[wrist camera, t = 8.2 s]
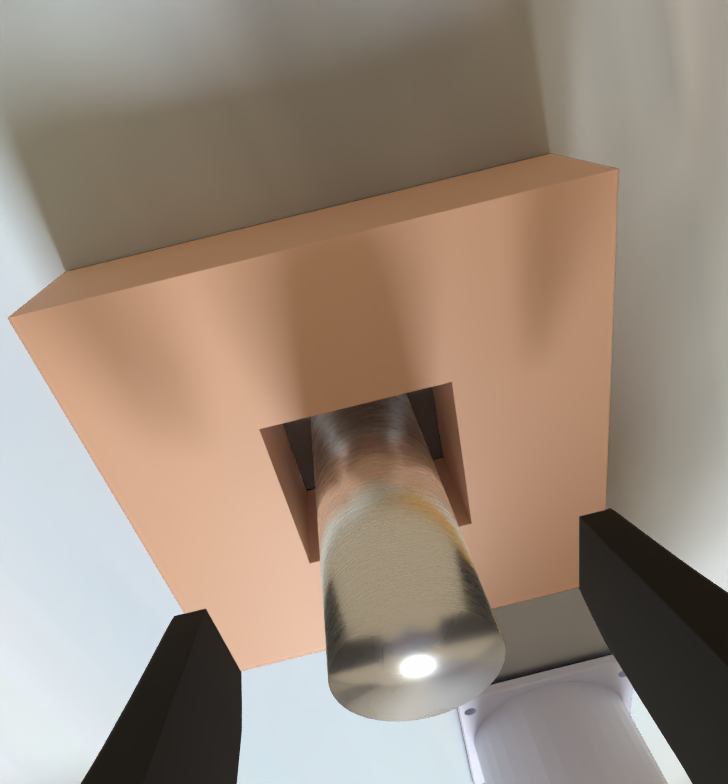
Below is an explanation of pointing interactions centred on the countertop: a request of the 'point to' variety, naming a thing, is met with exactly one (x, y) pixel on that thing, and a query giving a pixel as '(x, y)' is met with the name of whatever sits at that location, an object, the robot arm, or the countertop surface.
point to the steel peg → (395, 571)
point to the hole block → (348, 381)
